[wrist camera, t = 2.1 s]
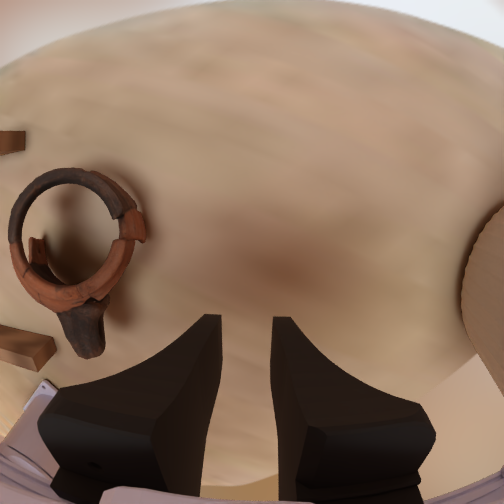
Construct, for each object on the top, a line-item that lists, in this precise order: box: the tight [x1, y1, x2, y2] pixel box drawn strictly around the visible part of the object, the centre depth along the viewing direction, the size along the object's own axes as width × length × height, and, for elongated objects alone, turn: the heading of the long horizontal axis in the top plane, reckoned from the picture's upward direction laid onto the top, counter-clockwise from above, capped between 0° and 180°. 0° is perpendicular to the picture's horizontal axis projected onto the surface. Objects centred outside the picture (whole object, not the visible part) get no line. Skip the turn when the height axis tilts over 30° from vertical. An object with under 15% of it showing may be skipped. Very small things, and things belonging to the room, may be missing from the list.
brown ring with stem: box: [8, 168, 146, 359], centre depth 18 cm, size 12×10×8 cm
